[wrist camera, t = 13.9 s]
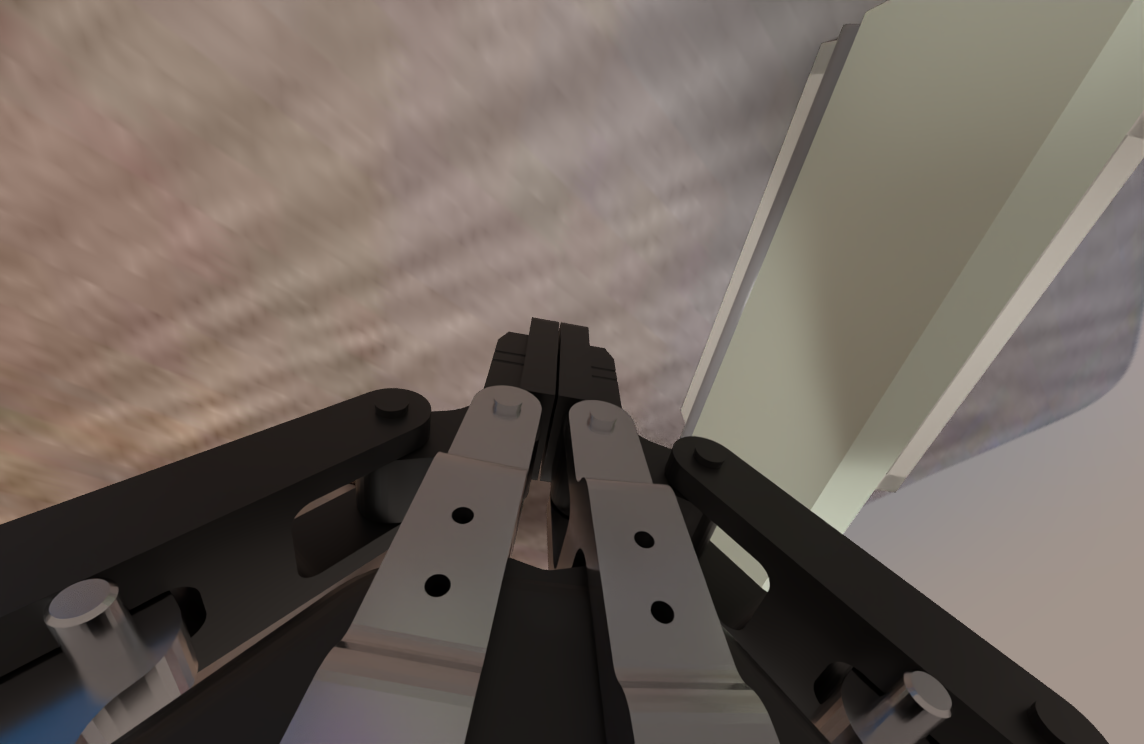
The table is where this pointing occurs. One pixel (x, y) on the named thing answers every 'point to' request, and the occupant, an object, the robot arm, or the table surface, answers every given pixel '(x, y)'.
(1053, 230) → the cover
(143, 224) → the table surface
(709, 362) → the shallow rectangular tray
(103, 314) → the table surface
